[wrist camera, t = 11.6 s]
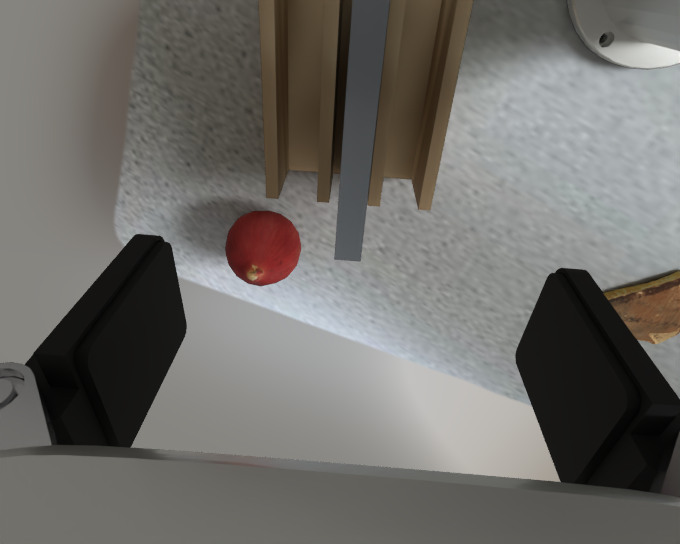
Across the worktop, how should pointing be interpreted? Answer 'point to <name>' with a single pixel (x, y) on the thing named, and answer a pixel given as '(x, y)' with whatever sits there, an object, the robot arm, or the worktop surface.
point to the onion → (262, 247)
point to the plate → (360, 122)
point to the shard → (650, 308)
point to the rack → (331, 81)
